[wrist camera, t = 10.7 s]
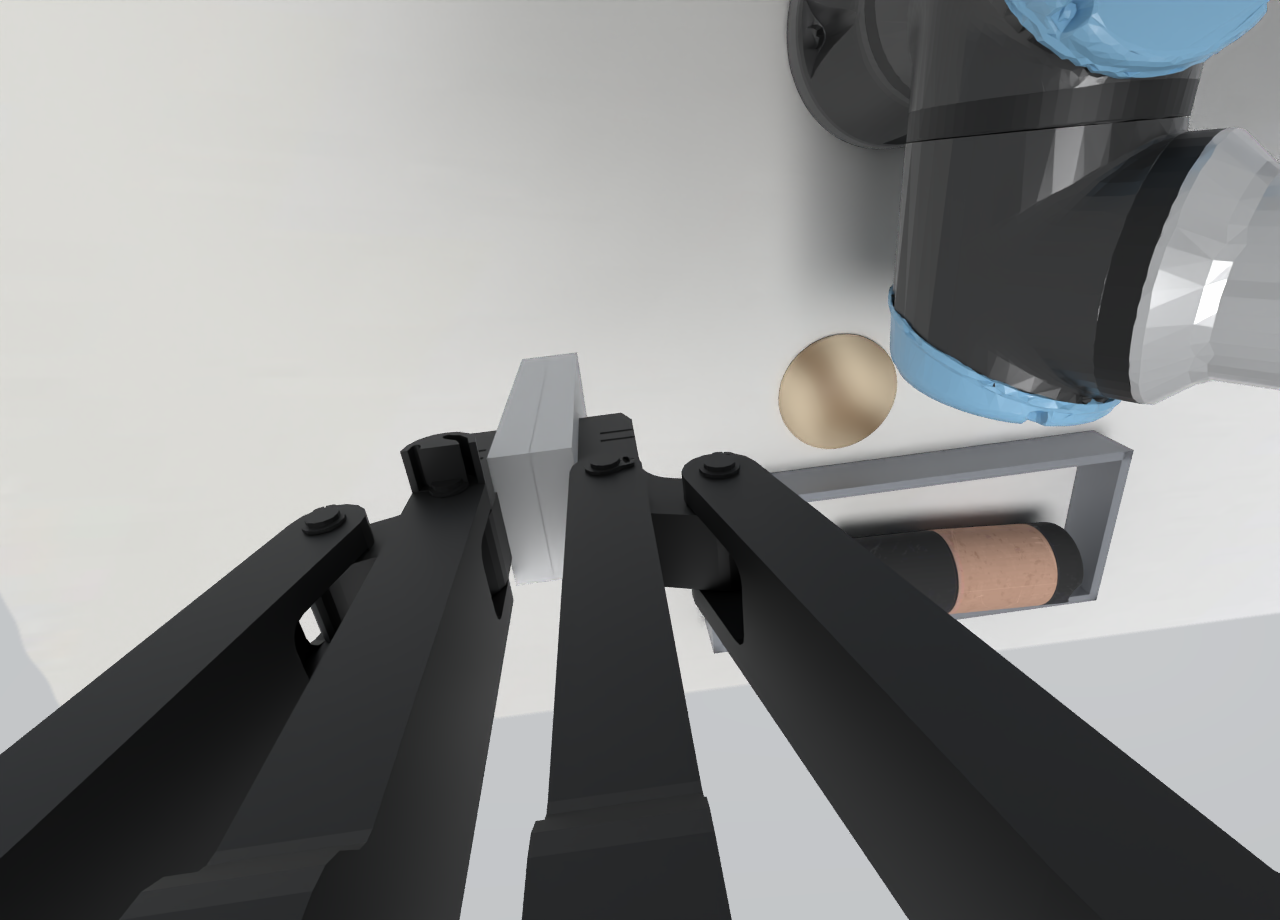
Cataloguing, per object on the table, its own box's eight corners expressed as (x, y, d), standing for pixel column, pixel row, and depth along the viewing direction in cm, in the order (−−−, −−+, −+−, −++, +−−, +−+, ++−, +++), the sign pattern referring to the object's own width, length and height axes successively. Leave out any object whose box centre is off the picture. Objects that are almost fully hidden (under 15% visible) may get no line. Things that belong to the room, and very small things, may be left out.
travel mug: (823, 535, 60) (1020, 520, 61) (831, 615, 60) (1029, 598, 61) (855, 538, 53) (1079, 521, 54) (864, 630, 52) (1090, 610, 53)
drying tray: (705, 621, 62) (713, 653, 58) (694, 483, 55) (703, 507, 51) (1062, 572, 63) (1096, 600, 59) (1093, 430, 56) (1133, 450, 52)
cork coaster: (831, 310, 50) (833, 311, 49) (918, 375, 53) (921, 376, 52) (755, 409, 53) (756, 412, 52) (841, 466, 56) (843, 468, 55)
